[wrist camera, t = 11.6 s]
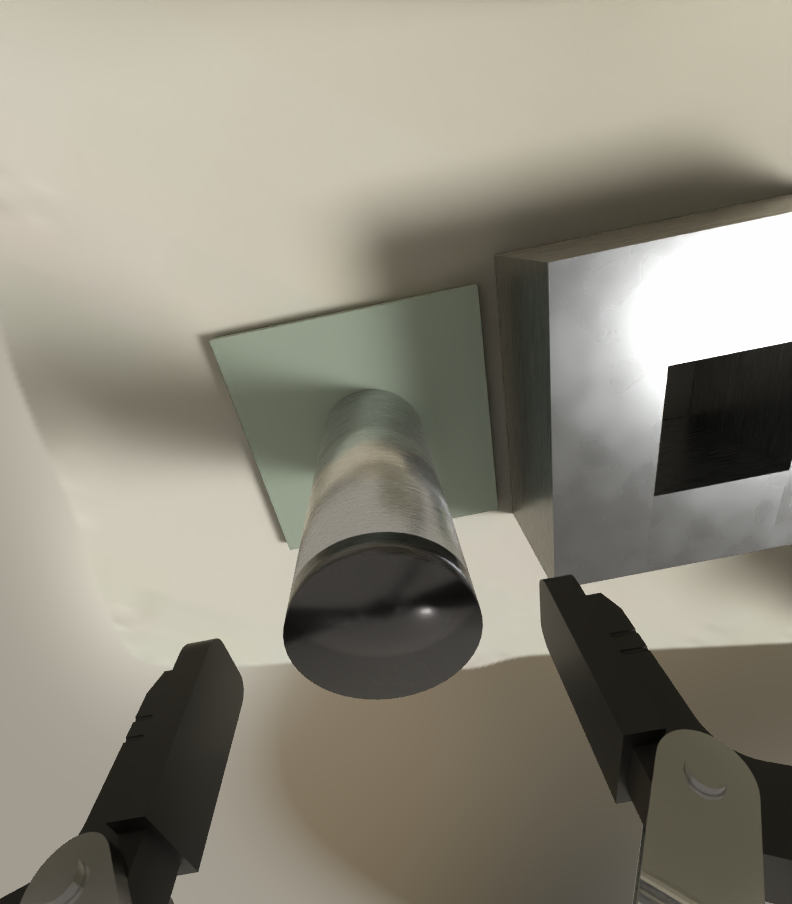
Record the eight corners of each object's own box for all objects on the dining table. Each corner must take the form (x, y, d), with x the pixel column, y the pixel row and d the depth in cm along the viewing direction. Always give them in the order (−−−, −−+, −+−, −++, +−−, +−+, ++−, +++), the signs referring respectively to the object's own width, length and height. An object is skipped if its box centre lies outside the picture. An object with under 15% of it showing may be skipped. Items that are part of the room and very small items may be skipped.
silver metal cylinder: (311, 400, 20) (255, 581, 10) (414, 379, 20) (472, 540, 10) (336, 487, 23) (314, 713, 12) (429, 469, 22) (490, 681, 12)
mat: (213, 337, 19) (209, 340, 19) (474, 284, 19) (477, 285, 19) (291, 543, 25) (290, 550, 24) (495, 503, 25) (498, 509, 24)
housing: (494, 255, 19) (548, 262, 13) (816, 188, 18) (1003, 168, 13) (513, 514, 25) (554, 589, 20) (752, 467, 25) (859, 531, 19)
